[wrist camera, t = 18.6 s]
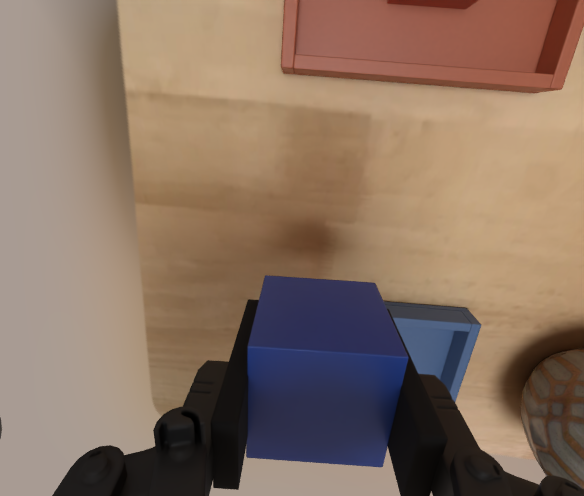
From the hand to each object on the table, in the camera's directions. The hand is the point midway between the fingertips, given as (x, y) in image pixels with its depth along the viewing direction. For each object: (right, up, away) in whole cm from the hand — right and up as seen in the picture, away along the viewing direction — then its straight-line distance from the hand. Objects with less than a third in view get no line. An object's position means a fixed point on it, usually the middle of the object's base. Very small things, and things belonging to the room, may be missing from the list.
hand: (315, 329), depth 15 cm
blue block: (0, 0, 0) cm, 0 cm away
